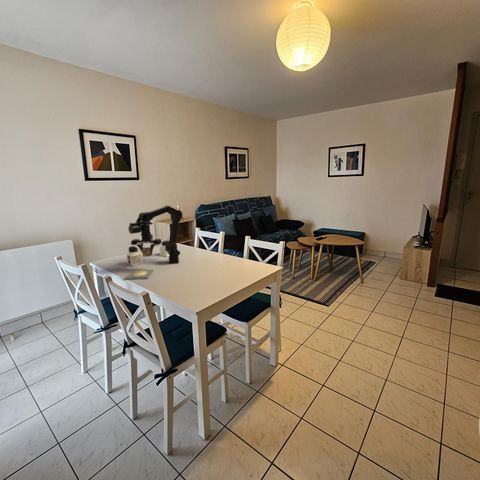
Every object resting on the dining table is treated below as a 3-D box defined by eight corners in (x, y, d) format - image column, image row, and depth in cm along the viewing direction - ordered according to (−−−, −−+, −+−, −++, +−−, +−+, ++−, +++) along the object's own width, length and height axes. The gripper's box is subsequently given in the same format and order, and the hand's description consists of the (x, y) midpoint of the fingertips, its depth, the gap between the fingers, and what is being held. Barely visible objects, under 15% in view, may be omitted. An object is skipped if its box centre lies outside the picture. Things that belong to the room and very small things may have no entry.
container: (133, 265, 188) (131, 248, 185) (127, 263, 192) (125, 247, 189) (142, 263, 194) (141, 246, 191) (136, 261, 198) (135, 244, 195)
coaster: (153, 271, 177) (153, 269, 176) (147, 278, 163) (147, 276, 163) (132, 271, 176) (132, 270, 175) (125, 279, 162) (124, 277, 162)
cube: (152, 254, 180) (151, 247, 179) (150, 256, 175) (149, 249, 174) (145, 254, 180) (144, 247, 179) (142, 256, 175) (142, 249, 174)
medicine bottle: (172, 254, 215) (171, 240, 212) (166, 256, 209) (165, 242, 206) (165, 253, 218) (164, 239, 215) (160, 255, 212) (158, 241, 209)
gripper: (162, 229, 182) (164, 250, 186) (135, 229, 181) (137, 251, 184) (158, 232, 171) (160, 255, 175) (129, 232, 170) (132, 255, 174)
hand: (147, 254), depth 177 cm, fingers closed on cube, 5 cm apart
